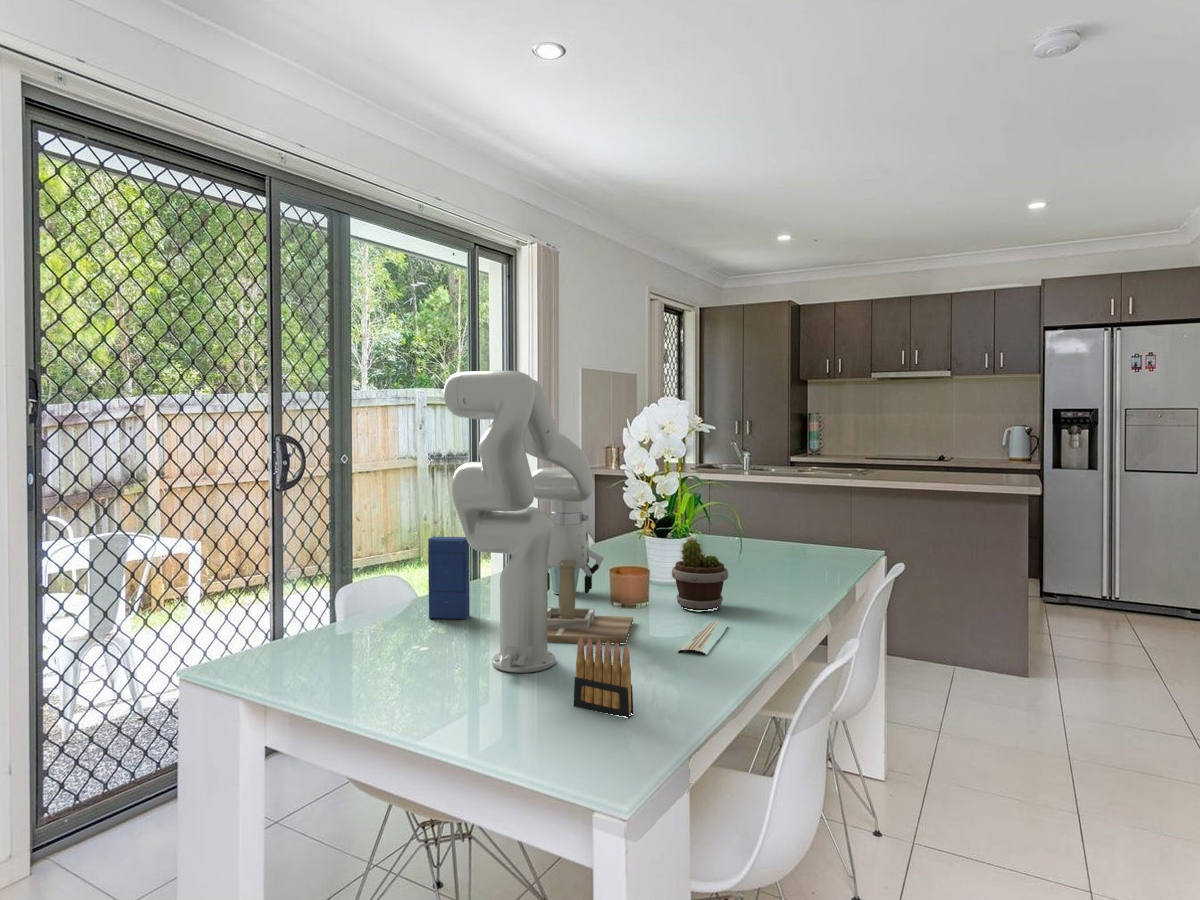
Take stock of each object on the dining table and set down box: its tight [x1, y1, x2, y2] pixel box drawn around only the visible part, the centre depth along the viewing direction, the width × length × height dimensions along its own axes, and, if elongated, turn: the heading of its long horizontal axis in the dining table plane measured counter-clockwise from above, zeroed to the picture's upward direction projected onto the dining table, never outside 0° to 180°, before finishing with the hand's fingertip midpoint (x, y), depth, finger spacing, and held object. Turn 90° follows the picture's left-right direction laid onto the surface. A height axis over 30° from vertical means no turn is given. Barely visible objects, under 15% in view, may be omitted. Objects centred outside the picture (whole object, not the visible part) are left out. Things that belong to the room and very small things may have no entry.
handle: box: [558, 560, 576, 620], centre depth 171 cm, size 5×6×15 cm
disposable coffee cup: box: [549, 567, 581, 595], centre depth 208 cm, size 11×11×15 cm
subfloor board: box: [548, 606, 634, 644], centre depth 169 cm, size 18×22×4 cm
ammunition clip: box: [573, 636, 634, 717], centre depth 122 cm, size 11×2×12 cm, turn 59°
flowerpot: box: [671, 534, 729, 610], centre depth 191 cm, size 14×15×20 cm
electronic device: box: [427, 536, 471, 620], centre depth 182 cm, size 10×5×20 cm, turn 84°
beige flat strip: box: [683, 621, 720, 653], centre depth 163 cm, size 24×7×2 cm, turn 159°
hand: (566, 591), depth 171 cm, fingers open, 9 cm apart
